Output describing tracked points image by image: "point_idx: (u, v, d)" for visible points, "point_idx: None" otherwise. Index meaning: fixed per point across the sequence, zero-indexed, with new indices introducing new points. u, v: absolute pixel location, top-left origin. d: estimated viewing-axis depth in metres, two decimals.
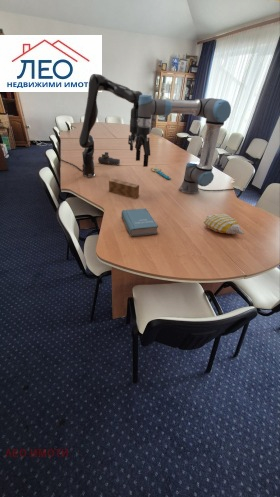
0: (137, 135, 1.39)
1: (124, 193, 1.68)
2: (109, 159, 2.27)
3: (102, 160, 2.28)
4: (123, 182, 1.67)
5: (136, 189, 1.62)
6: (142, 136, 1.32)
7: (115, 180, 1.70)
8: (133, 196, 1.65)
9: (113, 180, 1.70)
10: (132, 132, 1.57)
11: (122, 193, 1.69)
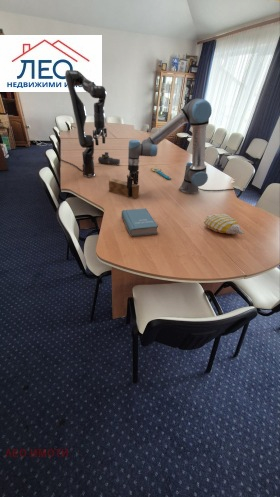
0: (130, 177, 1.55)
1: (124, 193, 1.68)
2: (109, 159, 2.27)
3: (102, 160, 2.28)
4: (123, 182, 1.67)
5: (136, 189, 1.62)
6: (135, 170, 1.59)
7: (115, 180, 1.70)
8: (133, 196, 1.65)
9: (113, 180, 1.70)
10: (96, 127, 1.59)
11: (122, 193, 1.69)
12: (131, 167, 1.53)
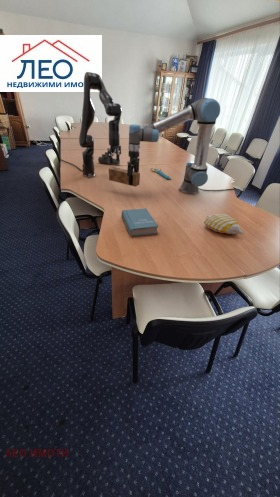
0: (130, 164, 1.49)
1: (124, 181, 1.63)
2: (109, 159, 2.27)
3: (102, 160, 2.28)
4: (123, 170, 1.62)
5: (136, 177, 1.57)
6: None
7: (115, 168, 1.64)
8: (134, 184, 1.60)
9: (113, 168, 1.64)
10: (111, 145, 1.52)
11: (122, 181, 1.63)
12: (132, 153, 1.48)
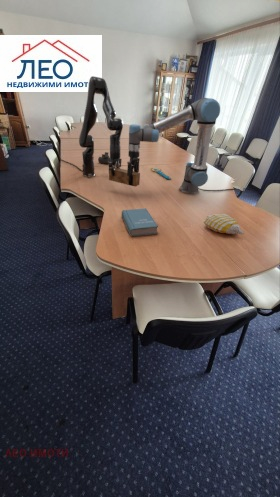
0: (130, 164, 1.49)
1: (124, 181, 1.63)
2: (109, 159, 2.27)
3: (102, 160, 2.28)
4: (123, 170, 1.62)
5: (136, 177, 1.57)
6: None
7: (115, 168, 1.64)
8: (134, 184, 1.60)
9: None
10: (112, 158, 1.56)
11: (122, 181, 1.63)
12: (132, 153, 1.48)
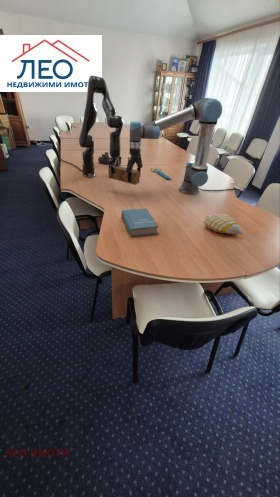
0: (131, 159, 1.47)
1: (124, 179, 1.62)
2: (109, 159, 2.27)
3: (102, 160, 2.28)
4: (123, 168, 1.61)
5: (136, 175, 1.56)
6: (137, 155, 1.52)
7: (115, 166, 1.64)
8: (134, 182, 1.59)
9: None
10: (112, 155, 1.56)
11: (122, 179, 1.63)
12: (133, 151, 1.47)
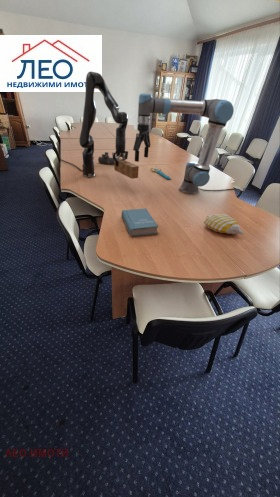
0: (139, 136, 1.36)
1: (124, 172, 1.71)
2: (109, 159, 2.27)
3: (102, 160, 2.28)
4: (126, 162, 1.71)
5: (133, 169, 1.63)
6: (145, 132, 1.42)
7: (120, 159, 1.75)
8: (131, 176, 1.66)
9: (118, 159, 1.75)
10: (116, 149, 1.67)
11: (123, 172, 1.72)
12: (141, 126, 1.36)
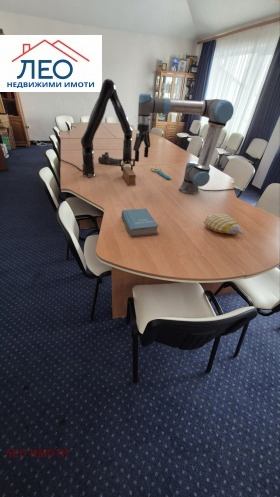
0: (139, 136, 1.36)
1: (126, 179, 1.93)
2: (109, 159, 2.27)
3: (102, 160, 2.28)
4: (129, 170, 1.92)
5: (129, 177, 1.83)
6: (145, 132, 1.42)
7: (127, 167, 1.97)
8: (128, 182, 1.87)
9: (126, 167, 1.98)
10: (123, 157, 1.91)
11: (125, 179, 1.94)
12: (141, 126, 1.36)
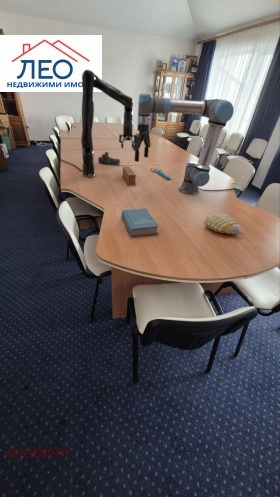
0: (139, 136, 1.36)
1: (126, 179, 1.93)
2: (109, 159, 2.27)
3: (102, 160, 2.28)
4: (129, 170, 1.92)
5: (129, 177, 1.83)
6: (145, 132, 1.42)
7: (127, 167, 1.97)
8: (128, 182, 1.87)
9: (126, 167, 1.98)
10: (123, 132, 1.79)
11: (125, 179, 1.94)
12: (141, 126, 1.36)
